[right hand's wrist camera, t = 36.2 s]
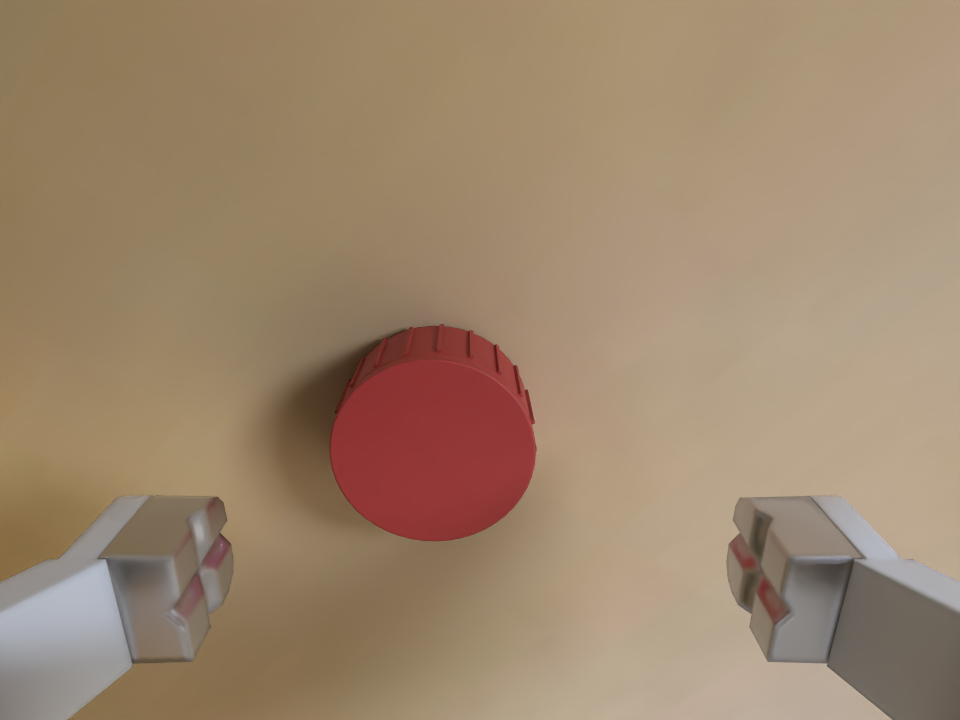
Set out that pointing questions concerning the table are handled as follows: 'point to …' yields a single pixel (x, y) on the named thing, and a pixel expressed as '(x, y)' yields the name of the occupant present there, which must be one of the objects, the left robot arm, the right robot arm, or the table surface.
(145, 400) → the table surface
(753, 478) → the table surface
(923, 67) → the table surface
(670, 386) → the table surface
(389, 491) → the cap
